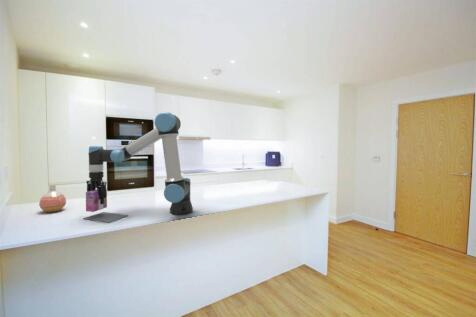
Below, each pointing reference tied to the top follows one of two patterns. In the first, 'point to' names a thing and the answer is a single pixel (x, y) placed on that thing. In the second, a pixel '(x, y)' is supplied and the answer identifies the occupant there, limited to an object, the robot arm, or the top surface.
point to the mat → (105, 217)
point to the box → (94, 201)
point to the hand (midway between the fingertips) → (96, 208)
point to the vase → (52, 200)
